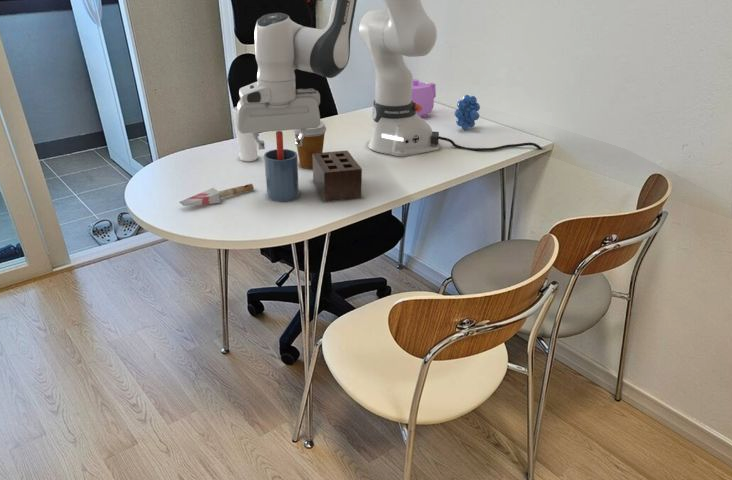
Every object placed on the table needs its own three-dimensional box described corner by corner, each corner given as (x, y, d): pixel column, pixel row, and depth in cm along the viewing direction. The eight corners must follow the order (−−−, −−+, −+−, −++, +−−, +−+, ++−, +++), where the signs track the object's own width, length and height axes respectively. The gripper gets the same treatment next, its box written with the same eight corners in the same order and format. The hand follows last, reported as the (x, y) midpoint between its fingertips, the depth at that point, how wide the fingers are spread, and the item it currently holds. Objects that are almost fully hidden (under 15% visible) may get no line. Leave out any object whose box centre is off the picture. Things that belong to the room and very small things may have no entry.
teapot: (422, 107, 214) (425, 73, 207) (443, 115, 205) (447, 80, 198) (379, 115, 205) (381, 79, 198) (399, 124, 196) (402, 87, 189)
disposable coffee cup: (331, 161, 166) (330, 121, 160) (320, 172, 159) (319, 131, 152) (301, 157, 168) (300, 117, 162) (289, 168, 161) (287, 127, 154)
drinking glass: (255, 163, 164) (251, 112, 155) (234, 162, 165) (228, 111, 156) (263, 155, 169) (259, 106, 161) (242, 154, 170) (237, 104, 162)
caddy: (347, 177, 156) (347, 150, 151) (361, 198, 145) (362, 169, 140) (313, 181, 153) (312, 153, 149) (324, 202, 142) (324, 172, 138)
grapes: (462, 136, 186) (467, 100, 179) (448, 131, 191) (452, 95, 184) (486, 129, 192) (491, 94, 185) (471, 124, 196) (476, 90, 190)
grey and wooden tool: (177, 195, 137) (248, 179, 148) (178, 206, 139) (249, 189, 149) (183, 201, 135) (255, 184, 146) (185, 211, 136) (256, 194, 147)
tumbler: (295, 187, 150) (293, 147, 144) (301, 199, 143) (299, 158, 137) (265, 190, 148) (262, 150, 142) (269, 203, 141) (266, 161, 135)
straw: (285, 190, 146) (281, 130, 137) (286, 193, 145) (282, 132, 136) (279, 191, 146) (275, 131, 137) (280, 193, 144) (276, 133, 136)
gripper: (317, 84, 136) (318, 139, 143) (232, 89, 131) (238, 146, 139) (322, 91, 131) (323, 148, 138) (235, 96, 126) (241, 155, 134)
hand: (280, 147), depth 139 cm, fingers open, 8 cm apart
